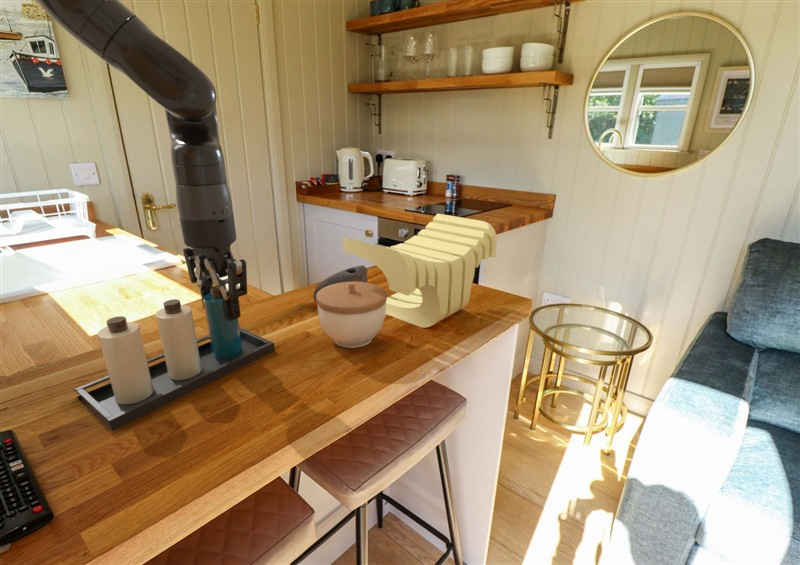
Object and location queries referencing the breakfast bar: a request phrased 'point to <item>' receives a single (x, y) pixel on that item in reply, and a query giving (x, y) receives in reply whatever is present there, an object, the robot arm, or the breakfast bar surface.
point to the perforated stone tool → (344, 278)
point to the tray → (170, 382)
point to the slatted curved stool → (431, 267)
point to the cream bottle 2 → (178, 340)
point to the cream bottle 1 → (125, 360)
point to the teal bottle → (221, 327)
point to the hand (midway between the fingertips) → (222, 313)
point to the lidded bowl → (351, 312)
